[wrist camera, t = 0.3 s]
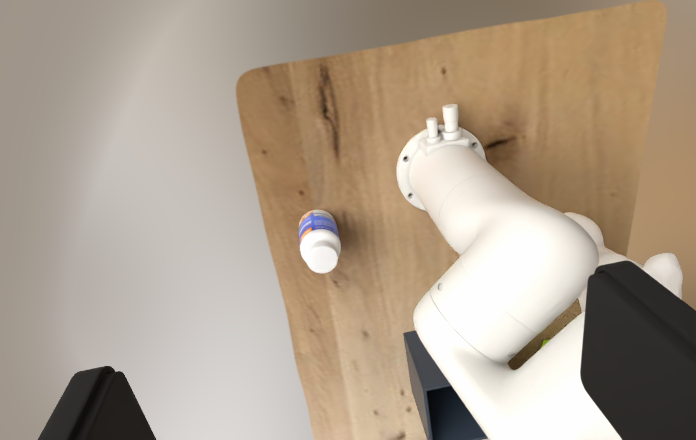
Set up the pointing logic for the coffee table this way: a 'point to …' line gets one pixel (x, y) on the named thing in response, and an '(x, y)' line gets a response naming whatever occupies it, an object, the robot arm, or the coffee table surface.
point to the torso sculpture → (656, 266)
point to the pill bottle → (319, 241)
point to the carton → (437, 397)
